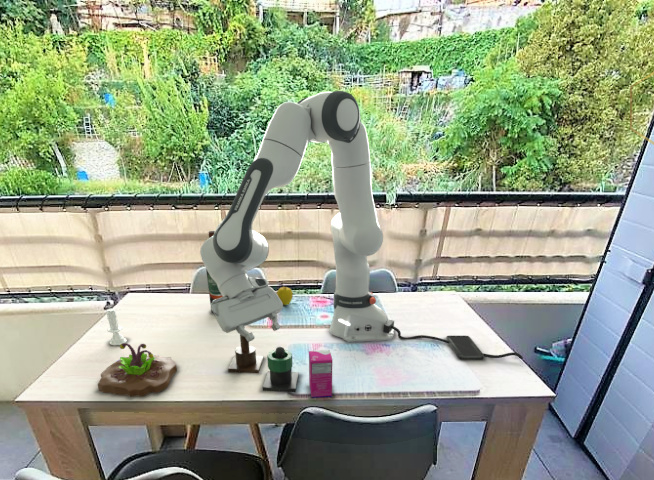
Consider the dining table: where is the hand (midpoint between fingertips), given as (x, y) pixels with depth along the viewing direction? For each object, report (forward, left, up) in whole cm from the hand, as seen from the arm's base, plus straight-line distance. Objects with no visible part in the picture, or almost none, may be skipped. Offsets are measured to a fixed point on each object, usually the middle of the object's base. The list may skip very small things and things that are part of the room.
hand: (264, 334), depth 114 cm
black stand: (-5, +4, -13) cm, 14 cm away
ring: (-4, +4, -8) cm, 10 cm away
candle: (+53, -17, -13) cm, 57 cm away
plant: (+36, +5, -13) cm, 39 cm away
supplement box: (-16, +8, -13) cm, 22 cm away
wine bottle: (+26, -47, -13) cm, 56 cm away
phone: (-61, -22, -13) cm, 66 cm away
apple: (+2, -56, -13) cm, 58 cm away
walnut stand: (+7, -5, -13) cm, 16 cm away
